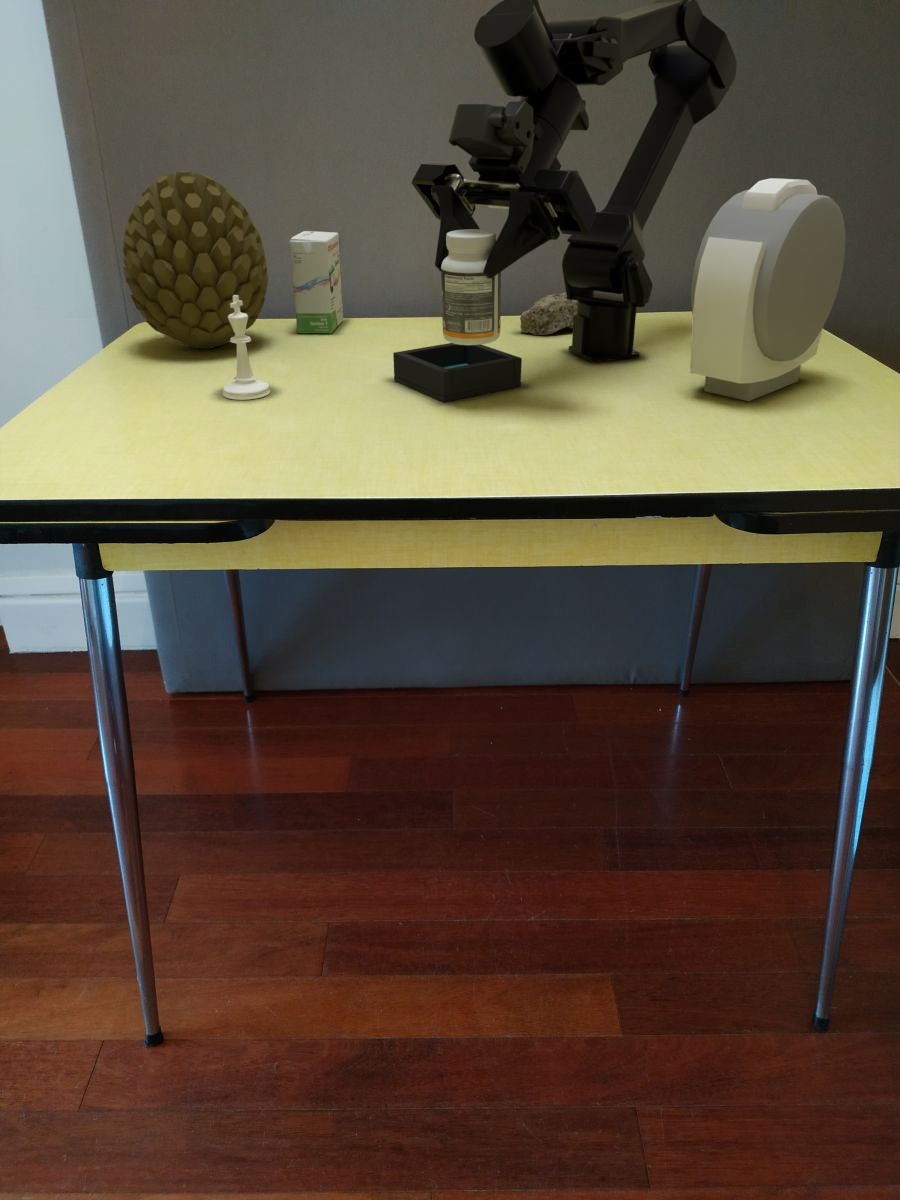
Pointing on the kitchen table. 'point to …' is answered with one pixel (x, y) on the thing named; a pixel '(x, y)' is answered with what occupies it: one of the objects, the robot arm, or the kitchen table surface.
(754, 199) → the alarm clock
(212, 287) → the decorative object
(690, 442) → the kitchen table surface
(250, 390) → the chess piece
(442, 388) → the socket pad
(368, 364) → the kitchen table surface
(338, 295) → the ink box
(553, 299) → the rock
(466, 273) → the pill bottle
